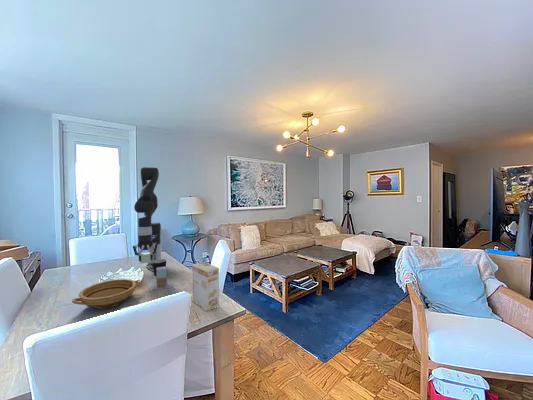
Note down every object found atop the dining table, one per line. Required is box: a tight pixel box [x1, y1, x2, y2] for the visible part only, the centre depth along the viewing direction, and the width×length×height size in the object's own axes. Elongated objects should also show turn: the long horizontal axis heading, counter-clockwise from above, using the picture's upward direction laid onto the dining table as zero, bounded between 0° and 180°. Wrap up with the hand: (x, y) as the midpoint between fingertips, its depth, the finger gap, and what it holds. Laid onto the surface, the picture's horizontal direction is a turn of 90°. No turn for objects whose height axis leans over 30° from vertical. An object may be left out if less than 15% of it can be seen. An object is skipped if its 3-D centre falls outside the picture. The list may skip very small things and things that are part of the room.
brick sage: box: [140, 252, 151, 264], centre depth 143 cm, size 5×5×5 cm
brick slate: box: [156, 265, 167, 280], centre depth 139 cm, size 5×5×5 cm
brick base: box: [156, 276, 167, 287], centre depth 139 cm, size 5×5×5 cm
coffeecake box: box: [191, 261, 220, 312], centre depth 117 cm, size 15×7×20 cm, turn 44°
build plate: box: [149, 279, 174, 291], centre depth 139 cm, size 12×12×1 cm
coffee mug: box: [146, 258, 167, 277], centre depth 157 cm, size 12×9×10 cm
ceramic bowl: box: [71, 278, 141, 310], centre depth 118 cm, size 30×24×8 cm
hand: (145, 260), depth 144 cm, fingers closed on brick sage, 5 cm apart
